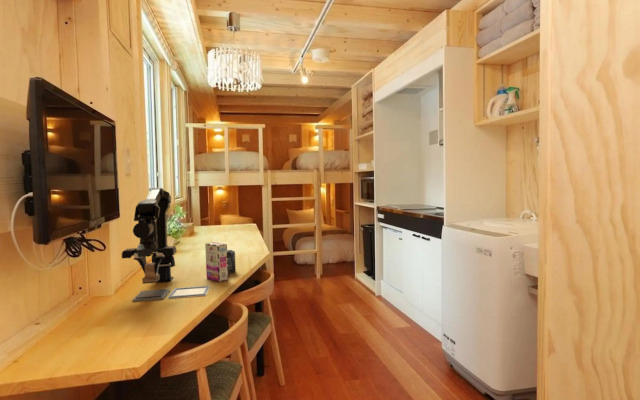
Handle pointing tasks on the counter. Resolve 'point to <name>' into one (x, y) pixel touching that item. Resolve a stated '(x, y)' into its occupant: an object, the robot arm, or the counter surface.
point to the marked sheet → (189, 292)
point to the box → (231, 261)
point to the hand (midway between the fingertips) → (150, 273)
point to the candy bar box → (216, 261)
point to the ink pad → (151, 295)
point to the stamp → (150, 274)
